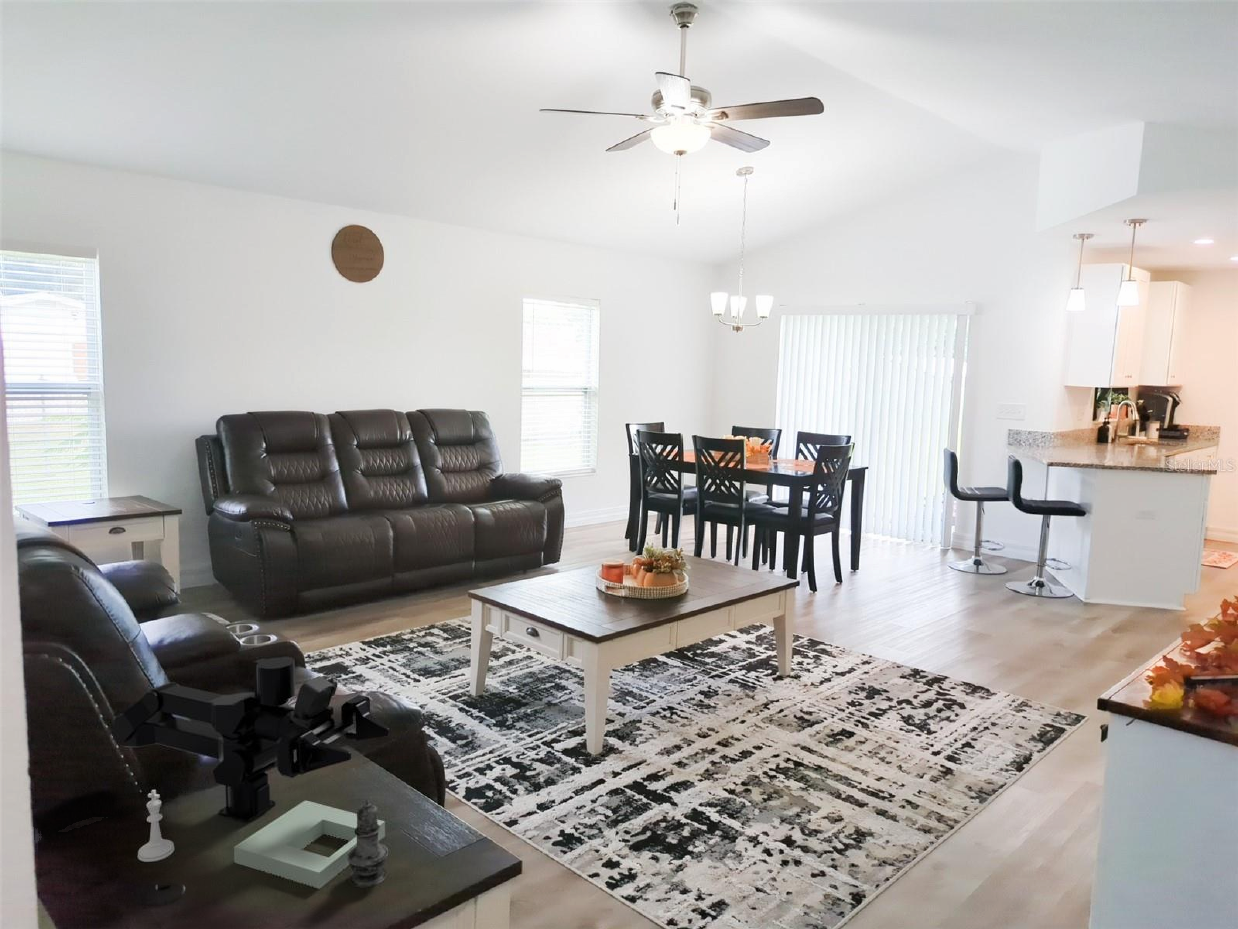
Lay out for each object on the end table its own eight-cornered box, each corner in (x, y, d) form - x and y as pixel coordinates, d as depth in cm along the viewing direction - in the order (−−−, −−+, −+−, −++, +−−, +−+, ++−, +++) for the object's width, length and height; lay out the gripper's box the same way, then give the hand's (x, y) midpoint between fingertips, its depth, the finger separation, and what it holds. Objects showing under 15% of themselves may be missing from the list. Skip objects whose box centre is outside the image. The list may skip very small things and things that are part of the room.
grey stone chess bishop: (396, 876, 125) (395, 799, 124) (360, 894, 121) (359, 814, 119) (375, 860, 129) (374, 785, 128) (339, 876, 125) (338, 799, 123)
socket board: (234, 862, 128) (234, 847, 127) (305, 814, 141) (305, 800, 141) (319, 889, 122) (319, 872, 121) (385, 836, 136) (384, 821, 135)
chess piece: (158, 864, 127) (155, 800, 126) (130, 859, 128) (127, 796, 127) (181, 846, 132) (179, 784, 130) (154, 841, 133) (151, 781, 131)
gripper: (244, 698, 127) (327, 716, 122) (329, 659, 145) (406, 674, 139) (246, 769, 129) (329, 790, 123) (331, 722, 146) (406, 739, 140)
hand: (370, 744), depth 131 cm, fingers open, 9 cm apart
